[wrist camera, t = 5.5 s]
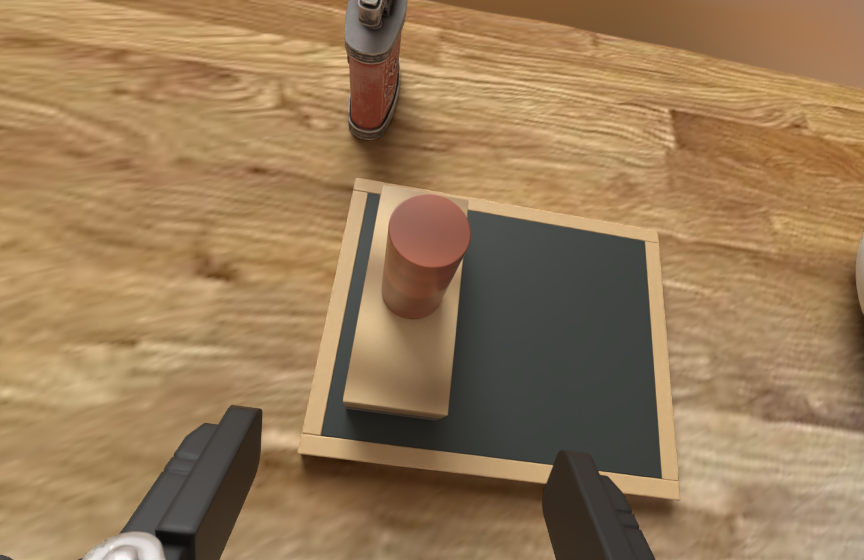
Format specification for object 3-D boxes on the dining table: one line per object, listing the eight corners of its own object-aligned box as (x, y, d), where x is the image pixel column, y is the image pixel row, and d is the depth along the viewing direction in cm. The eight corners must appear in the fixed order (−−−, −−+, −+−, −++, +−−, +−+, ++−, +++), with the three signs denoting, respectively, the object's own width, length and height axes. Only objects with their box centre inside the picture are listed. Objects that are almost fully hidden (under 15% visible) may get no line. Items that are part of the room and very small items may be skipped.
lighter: (362, 51, 35) (362, -93, 26) (405, 61, 35) (421, -79, 26) (340, 134, 32) (331, 4, 23) (387, 144, 32) (397, 19, 23)
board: (300, 453, 24) (297, 453, 23) (356, 186, 31) (355, 176, 30) (667, 498, 26) (680, 500, 25) (648, 238, 33) (657, 230, 31)
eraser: (436, 420, 25) (483, 398, 15) (345, 408, 24) (333, 377, 15) (457, 228, 29) (502, 118, 20) (380, 215, 29) (388, 96, 19)
